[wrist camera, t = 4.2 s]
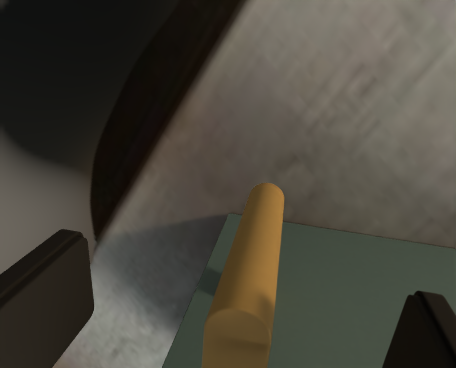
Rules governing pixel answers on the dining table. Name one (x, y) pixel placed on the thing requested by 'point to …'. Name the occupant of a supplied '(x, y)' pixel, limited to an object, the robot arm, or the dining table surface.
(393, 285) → the cabinet door
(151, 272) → the dining table surface
